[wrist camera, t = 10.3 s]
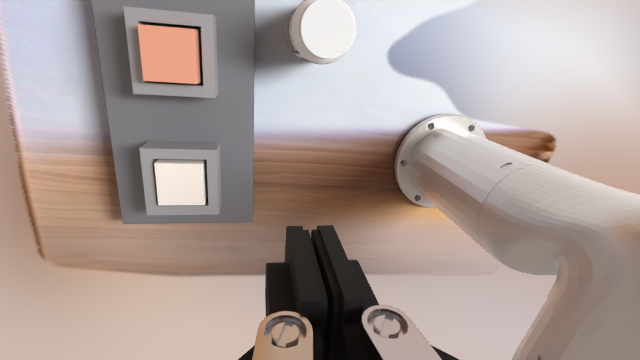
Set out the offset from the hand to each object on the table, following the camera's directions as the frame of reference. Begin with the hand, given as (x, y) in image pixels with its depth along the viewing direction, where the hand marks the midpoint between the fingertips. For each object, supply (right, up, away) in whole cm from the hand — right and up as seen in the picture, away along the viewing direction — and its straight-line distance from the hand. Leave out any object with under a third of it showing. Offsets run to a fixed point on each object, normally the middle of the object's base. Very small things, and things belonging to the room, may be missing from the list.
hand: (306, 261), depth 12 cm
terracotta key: (-13, +14, +19) cm, 27 cm away
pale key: (-14, +4, +24) cm, 28 cm away
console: (-14, +10, +25) cm, 30 cm away
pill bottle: (0, +19, +25) cm, 31 cm away
